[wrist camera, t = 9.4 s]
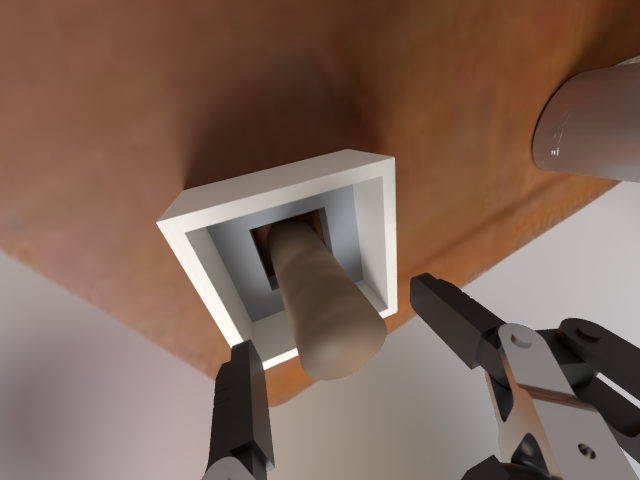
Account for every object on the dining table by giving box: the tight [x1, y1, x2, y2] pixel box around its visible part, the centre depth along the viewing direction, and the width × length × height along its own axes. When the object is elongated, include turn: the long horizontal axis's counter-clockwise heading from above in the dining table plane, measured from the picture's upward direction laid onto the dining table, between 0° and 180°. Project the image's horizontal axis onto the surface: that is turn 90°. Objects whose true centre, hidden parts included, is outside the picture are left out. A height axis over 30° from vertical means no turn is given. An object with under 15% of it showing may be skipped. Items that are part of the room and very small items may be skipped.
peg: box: [267, 218, 387, 380], centre depth 14 cm, size 4×4×11 cm
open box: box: [156, 149, 397, 370], centre depth 16 cm, size 12×12×6 cm
